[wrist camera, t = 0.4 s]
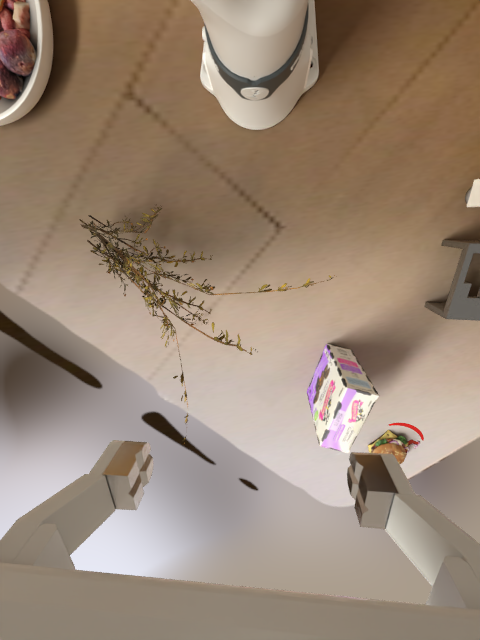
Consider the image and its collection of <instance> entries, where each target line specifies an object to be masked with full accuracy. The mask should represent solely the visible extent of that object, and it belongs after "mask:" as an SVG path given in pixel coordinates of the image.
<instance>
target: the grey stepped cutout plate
mask: <svg viewBox="0 0 480 640" xmlns="http://www.w3.org/2000/svg"><path fill="white" fill-rule="evenodd" d="M441 246H448V247H454V248H460V249H463V250H462V253H461V256H460V260H459V263H458V266H457V269H456V273H455V276H454V279H453V282H452V286H451V289H450V292H449V295H448V299H447V302H446V303H439V302H426V303H425V306H424V307H426V308H428V309H429V310H431V311H433V312H435V313H436V314H438V315H440V316H442V317H443V318H445V319H458V320H480V289H479V292H478V294H477V297H476V296H468V293H469V290H470V287H471V285H472V284H471V283H468V282H464V281H465V278H466V274H467V271H468V268H469V265H470V262H471V259H472V256H473V253H480V241H471V240H443V242H442V245H441Z"/></svg>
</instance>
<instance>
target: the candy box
mask: <svg viewBox="0 0 480 640" xmlns="http://www.w3.org/2000/svg"><path fill="white" fill-rule="evenodd" d="M307 395H308V399H309V404H310V408H311V412H312V416H313V420H314V425H315V429H316V433H317V437H318V441H319V446H322V447H326V448H330V449H334V450H338V451H342V452H345V453H349V452H350V448H351V446H352V444H353V442H354V441H355V439H356V437H357V435H358V433H359V431H360V430H361V428H362V426H363V424H364V422H365V420H366V419H367V417H368V415H369V413H370V411H371V409H372V407H373V405H374V403H375V401H376V400H377V398H378V397H379V394H378V393H377V391H376V390H375V388H374V386H373V385H372V383H371V381H370V380H369V378H368V377H367V375H366V373H365V372H364V370H363V368H362V367H361V365H360V364H359V362H358V360H357V359H356V357H355V355H354V354H353V352H352V350H350V349H346V348H342V347H338V346H335V345H331V344H326V346H325V349H324V351H323V354H322V356H321V358H320V361H319V364H318V366H317V368H316V371H315V373H314V376H313V378H312V381H311V383H310V386H309V388H308V391H307Z"/></svg>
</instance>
